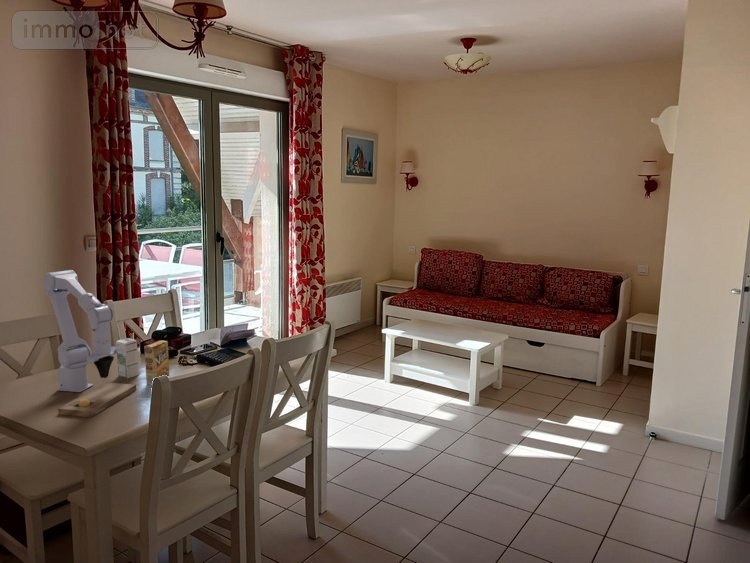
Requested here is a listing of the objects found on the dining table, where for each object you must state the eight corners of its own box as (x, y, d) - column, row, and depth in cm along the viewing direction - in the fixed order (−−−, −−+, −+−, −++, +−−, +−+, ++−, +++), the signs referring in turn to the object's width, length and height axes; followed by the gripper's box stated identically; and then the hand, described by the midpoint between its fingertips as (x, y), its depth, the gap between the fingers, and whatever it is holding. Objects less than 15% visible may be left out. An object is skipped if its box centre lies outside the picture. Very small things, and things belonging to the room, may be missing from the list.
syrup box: (139, 374, 234) (137, 339, 232) (126, 378, 229) (124, 343, 227) (130, 372, 237) (128, 337, 235) (117, 376, 232) (115, 340, 230)
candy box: (155, 386, 222) (153, 346, 219) (145, 384, 223) (143, 345, 221) (170, 378, 230) (168, 340, 228) (161, 377, 232) (159, 339, 229)
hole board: (58, 414, 194) (57, 408, 194) (106, 387, 220) (106, 382, 219) (91, 417, 192) (90, 411, 192) (136, 389, 218) (136, 384, 217)
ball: (81, 402, 201) (83, 411, 200) (75, 400, 197) (77, 410, 196) (90, 398, 201) (93, 407, 200) (85, 396, 198) (87, 406, 197)
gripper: (99, 346, 198) (101, 385, 200) (124, 335, 212) (126, 371, 214) (80, 345, 199) (83, 383, 202) (106, 334, 213) (109, 370, 216)
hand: (104, 377), depth 208 cm, fingers closed
